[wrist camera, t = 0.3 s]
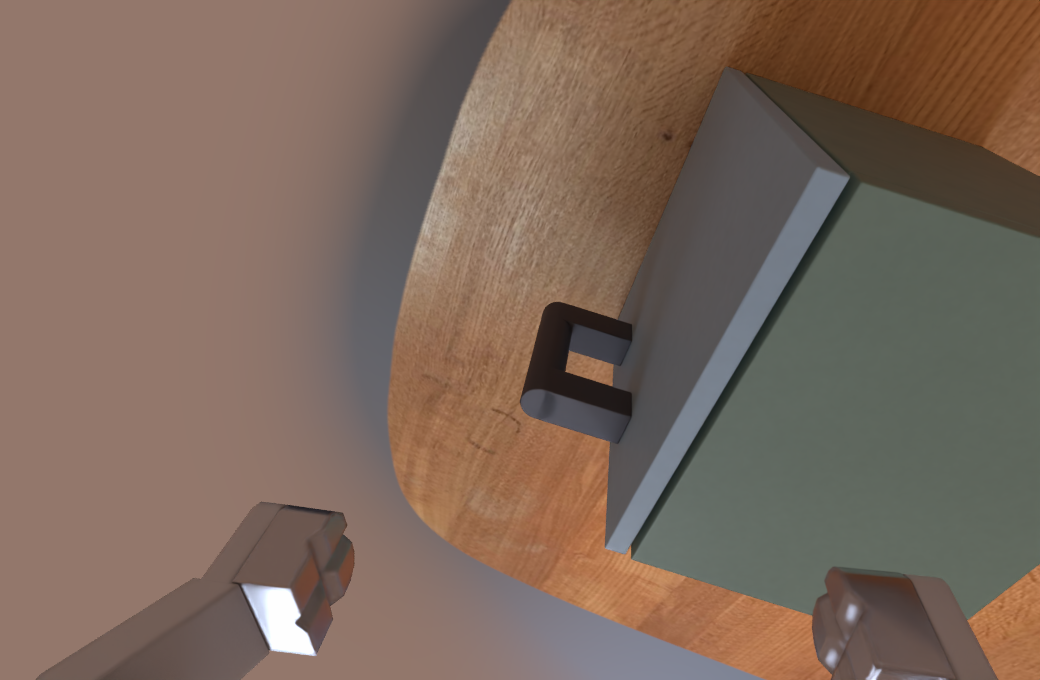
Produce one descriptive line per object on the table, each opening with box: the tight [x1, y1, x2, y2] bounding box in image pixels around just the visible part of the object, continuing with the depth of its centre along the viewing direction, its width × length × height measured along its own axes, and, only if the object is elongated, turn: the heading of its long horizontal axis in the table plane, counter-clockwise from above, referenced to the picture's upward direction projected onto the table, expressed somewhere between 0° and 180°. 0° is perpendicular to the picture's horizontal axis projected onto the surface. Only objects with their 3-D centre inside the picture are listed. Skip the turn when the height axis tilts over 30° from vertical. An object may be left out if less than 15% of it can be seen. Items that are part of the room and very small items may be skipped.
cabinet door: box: [520, 67, 850, 554], centre depth 29 cm, size 6×18×20 cm, turn 165°
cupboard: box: [631, 73, 1040, 620], centre depth 29 cm, size 14×18×20 cm
